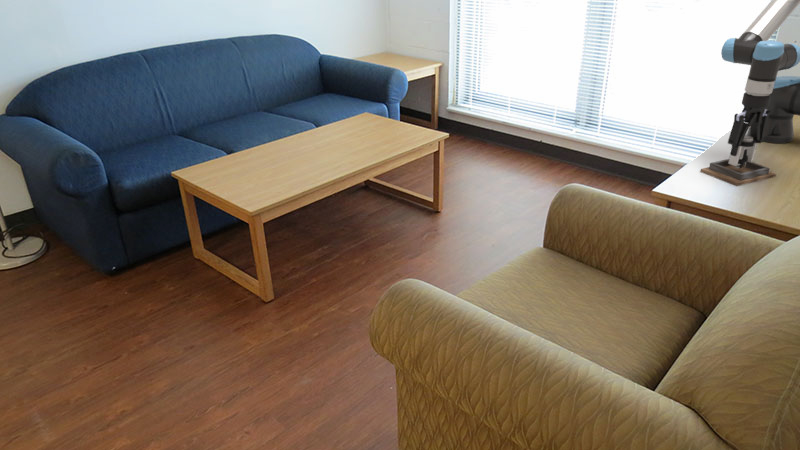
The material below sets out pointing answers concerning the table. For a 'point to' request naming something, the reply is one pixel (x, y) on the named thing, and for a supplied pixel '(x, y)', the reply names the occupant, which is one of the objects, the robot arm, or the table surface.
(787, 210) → the table surface
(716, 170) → the dock
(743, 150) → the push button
